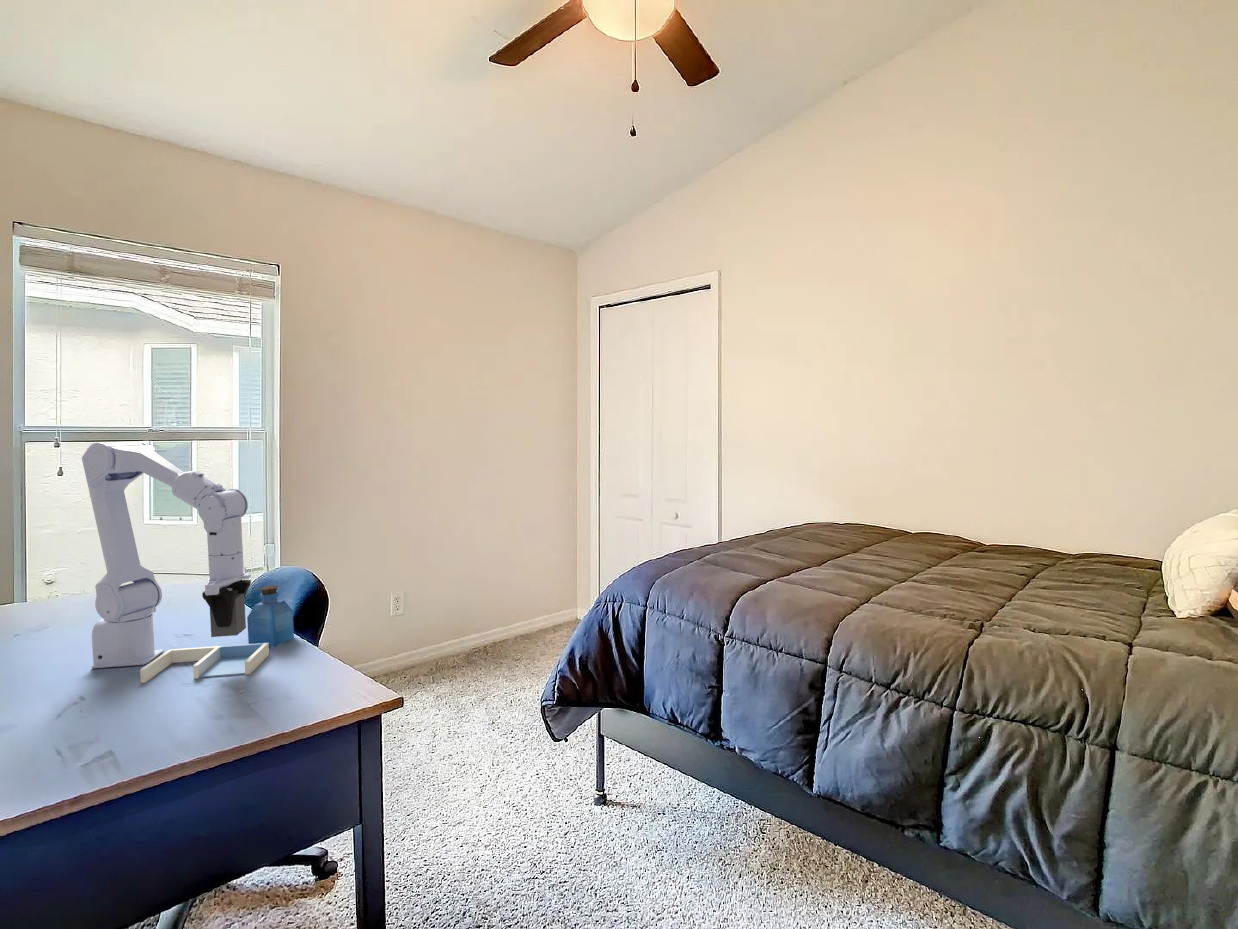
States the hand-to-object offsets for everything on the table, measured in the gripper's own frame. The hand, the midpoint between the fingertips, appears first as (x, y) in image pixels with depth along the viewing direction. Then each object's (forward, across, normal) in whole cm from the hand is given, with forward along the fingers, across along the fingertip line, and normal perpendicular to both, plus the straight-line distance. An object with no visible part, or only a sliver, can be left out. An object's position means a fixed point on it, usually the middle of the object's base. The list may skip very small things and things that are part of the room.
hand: (229, 622), depth 125 cm
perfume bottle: (+9, +15, -3) cm, 18 cm away
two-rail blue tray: (+9, 0, +4) cm, 10 cm away
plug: (+2, 0, 0) cm, 2 cm away
